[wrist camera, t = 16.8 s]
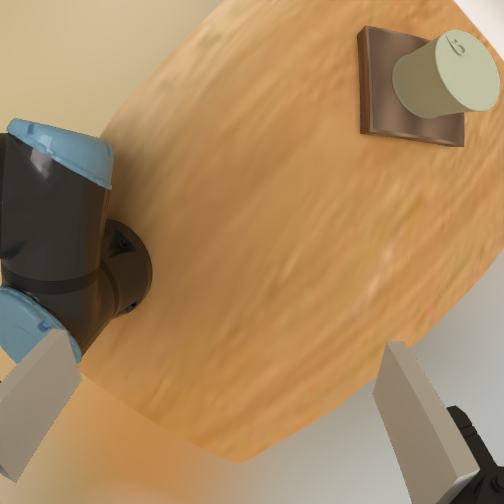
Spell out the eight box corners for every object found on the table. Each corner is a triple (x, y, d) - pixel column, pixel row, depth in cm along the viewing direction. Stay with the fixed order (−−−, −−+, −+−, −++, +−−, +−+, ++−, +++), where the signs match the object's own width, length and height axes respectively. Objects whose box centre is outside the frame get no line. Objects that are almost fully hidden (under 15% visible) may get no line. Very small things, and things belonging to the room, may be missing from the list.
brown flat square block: (360, 133, 39) (370, 131, 35) (357, 35, 34) (365, 25, 30) (449, 146, 38) (464, 146, 34) (445, 55, 34) (459, 49, 30)
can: (422, 44, 30) (469, 17, 19) (459, 99, 32) (514, 90, 21) (378, 72, 32) (420, 45, 21) (419, 131, 34) (472, 127, 23)
